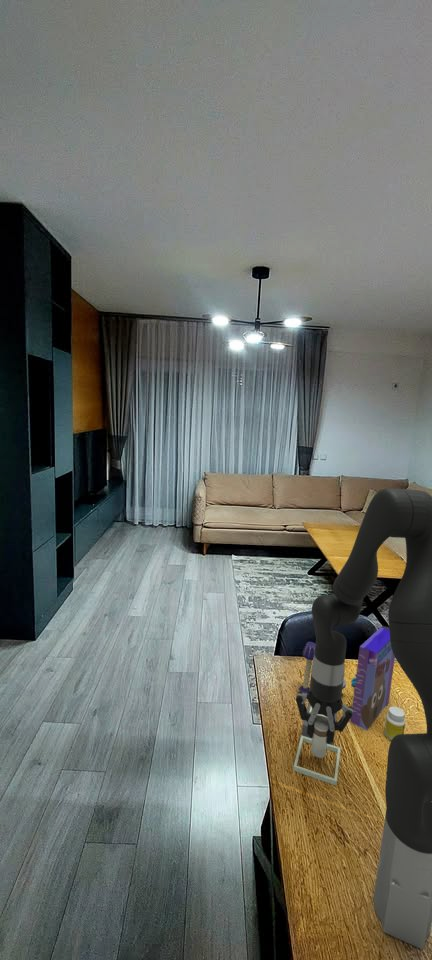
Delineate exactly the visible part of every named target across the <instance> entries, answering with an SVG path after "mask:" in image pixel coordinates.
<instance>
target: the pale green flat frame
mask: <svg viewBox="0 0 432 960" xmlns="http://www.w3.org/2000/svg"><path fill="white" fill-rule="evenodd" d="M303 742H304V743H306V744H307V743H308V744H310V745H312V739H311V738H309V737H306V736H303V735H302V734H301V735H300V739H299V743H298V747H297V751H296V755H295V760H294V764H293V767H292V768H293V769H292V771H294V772H296V773H299V774H302V775H304V776H308V777H311V778H314V779H316V780H320V781H322V782H325V783H328V784H331V785H333V786H337V784H338V783H337V782H338V772H339V765H340V764H339V763H340V756H341V749H342V748H341V747H339V746H335V745H331V744H327V748H326V750H329V751H331V752H335V753H337V754H336V761H335V763H336V764H335V770H334V777H330V776H328V775H325V774H322V773H319V772H316V771H313V770H311V769H307V768H304V767H301V766H299V765H298V764H299V763H298V762H299V759H300V754H301V751H302V747H303Z"/></svg>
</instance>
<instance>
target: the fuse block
mask: <svg viewBox="0 0 432 960" xmlns="http://www.w3.org/2000/svg"><path fill="white" fill-rule="evenodd" d="M306 709H307V713H309V714H310V713H311V710H312V707H311V705H310V703H309V702H308V703H307V707H306ZM317 716H324V715H320V714H317ZM324 717H326V716H324ZM337 717H338V712H337V713H336V714H335V721H336V722H337ZM326 718H327V719H328V717H326ZM307 727H308V723H307V721H306V720H303V724H302V730H301V731H302V732H301V735H302V736H305V737H308V738H309V735H307ZM333 744H334V741H333V742H332V743H331V742H330V745H333ZM333 746H334V745H333Z"/></svg>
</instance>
